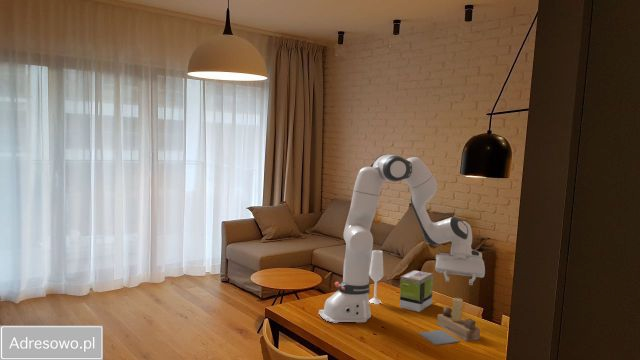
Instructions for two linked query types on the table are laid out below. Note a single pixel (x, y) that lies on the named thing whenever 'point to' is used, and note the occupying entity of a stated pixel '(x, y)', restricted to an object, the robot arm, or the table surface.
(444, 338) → the rubber mat
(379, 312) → the table surface
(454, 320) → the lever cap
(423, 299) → the tea box
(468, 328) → the plane body
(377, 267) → the champagne flute
